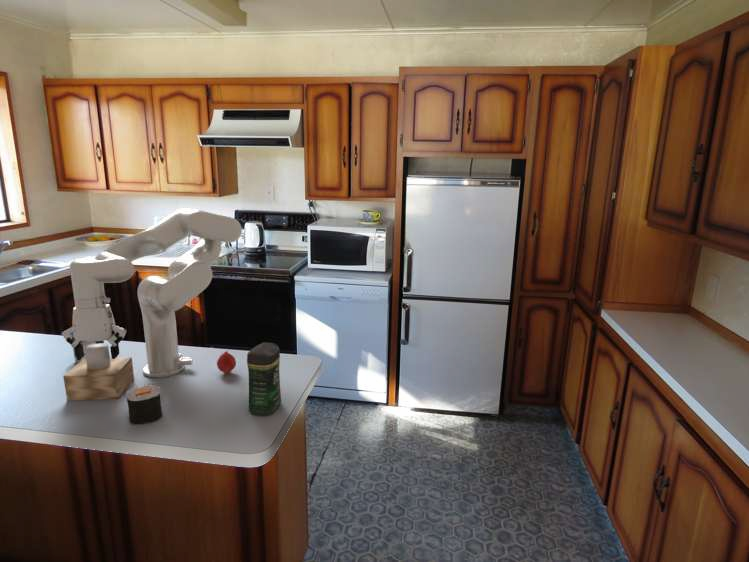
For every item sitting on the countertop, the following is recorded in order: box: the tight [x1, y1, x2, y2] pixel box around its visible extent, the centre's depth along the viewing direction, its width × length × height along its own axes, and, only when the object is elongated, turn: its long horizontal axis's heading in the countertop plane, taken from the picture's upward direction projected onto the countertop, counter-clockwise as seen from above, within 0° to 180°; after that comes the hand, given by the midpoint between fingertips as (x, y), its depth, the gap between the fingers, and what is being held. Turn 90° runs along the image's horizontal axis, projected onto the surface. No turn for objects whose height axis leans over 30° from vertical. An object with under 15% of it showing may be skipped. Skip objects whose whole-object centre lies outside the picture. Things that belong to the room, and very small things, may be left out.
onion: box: [216, 350, 237, 375], centre depth 151 cm, size 6×6×8 cm
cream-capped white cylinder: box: [85, 342, 111, 370], centre depth 137 cm, size 6×6×6 cm
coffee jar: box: [246, 341, 282, 416], centre depth 129 cm, size 10×8×19 cm
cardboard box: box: [63, 359, 135, 402], centre depth 139 cm, size 14×12×7 cm
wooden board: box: [63, 357, 133, 379], centre depth 138 cm, size 14×12×1 cm
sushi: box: [125, 384, 163, 426], centre depth 125 cm, size 8×8×8 cm
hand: (97, 357), depth 137 cm, fingers open, 9 cm apart
